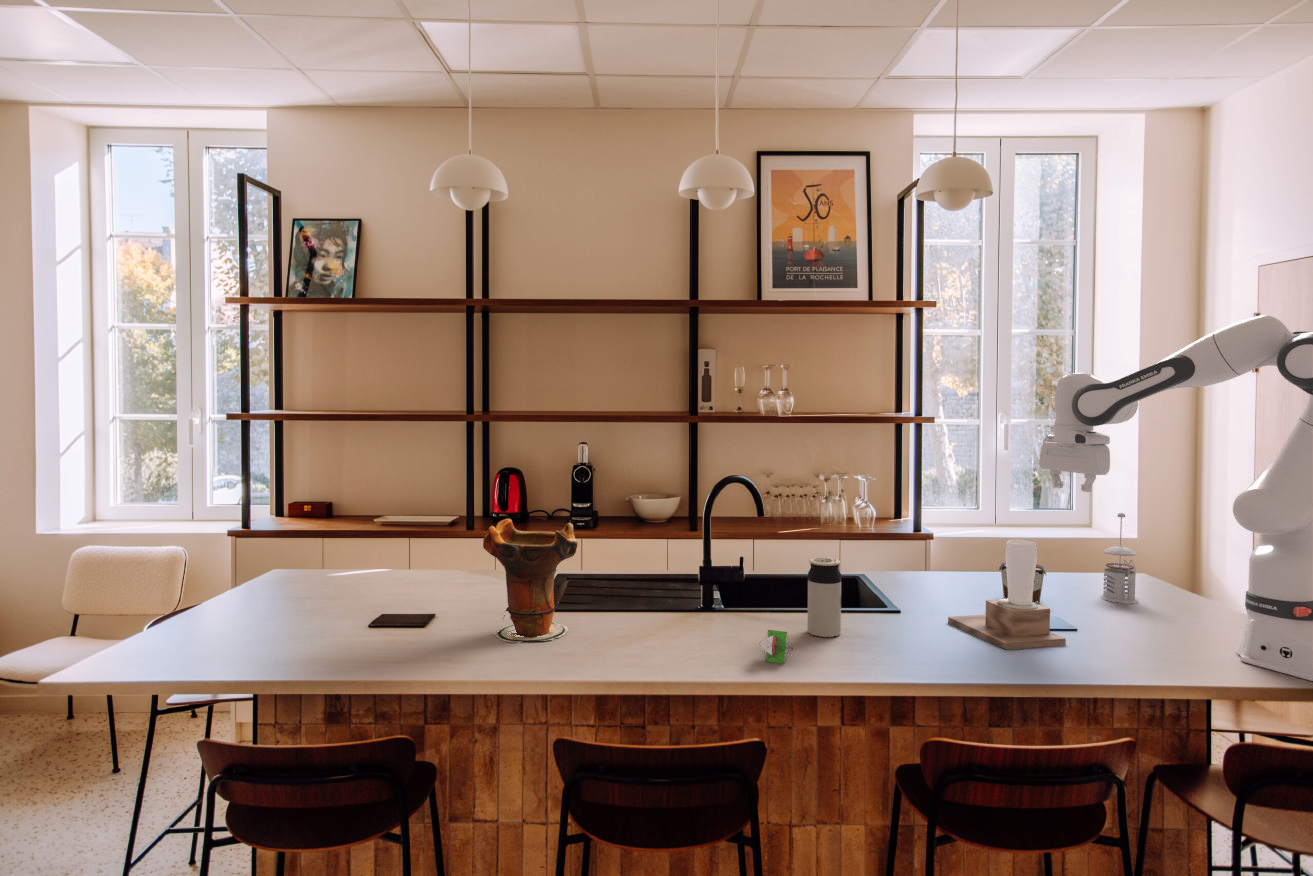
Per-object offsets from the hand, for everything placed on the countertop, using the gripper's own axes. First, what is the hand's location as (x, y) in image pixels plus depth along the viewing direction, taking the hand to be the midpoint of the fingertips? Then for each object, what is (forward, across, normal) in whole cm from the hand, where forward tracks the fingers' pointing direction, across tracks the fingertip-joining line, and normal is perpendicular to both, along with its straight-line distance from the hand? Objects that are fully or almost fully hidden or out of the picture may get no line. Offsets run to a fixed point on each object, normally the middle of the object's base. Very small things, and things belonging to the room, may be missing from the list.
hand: (1072, 489), depth 194 cm
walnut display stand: (+34, +6, -24) cm, 42 cm away
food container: (+34, -22, +4) cm, 41 cm away
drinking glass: (+26, +8, -21) cm, 35 cm away
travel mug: (+34, -4, -67) cm, 75 cm away
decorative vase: (+34, -21, -137) cm, 143 cm away
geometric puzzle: (+34, +12, -86) cm, 93 cm away
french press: (+34, -14, +30) cm, 48 cm away
